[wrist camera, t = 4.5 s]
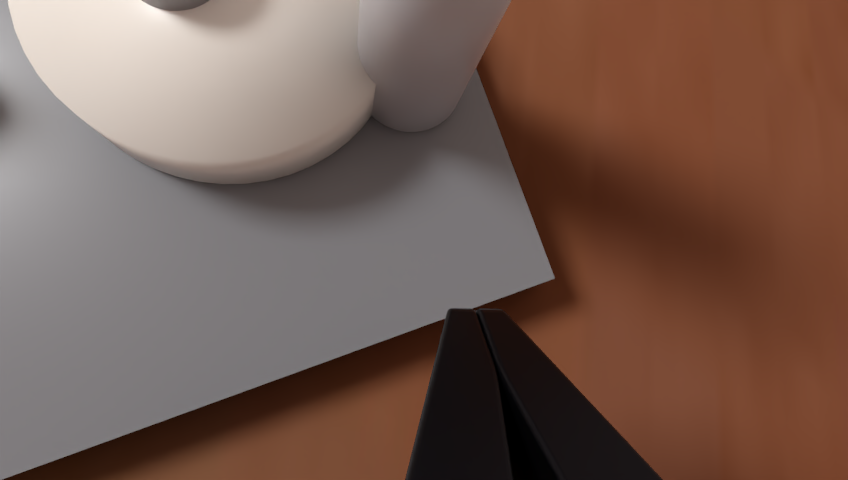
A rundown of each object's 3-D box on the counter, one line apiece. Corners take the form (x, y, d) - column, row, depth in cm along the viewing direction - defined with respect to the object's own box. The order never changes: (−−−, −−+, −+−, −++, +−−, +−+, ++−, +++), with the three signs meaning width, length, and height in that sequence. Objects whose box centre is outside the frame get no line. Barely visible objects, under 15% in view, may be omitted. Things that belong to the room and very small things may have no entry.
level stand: (536, 282, 17) (620, 263, 12) (-33, 489, 14) (-248, 583, 9) (368, -170, 18) (378, -359, 13) (-176, -73, 15) (-429, -270, 10)
